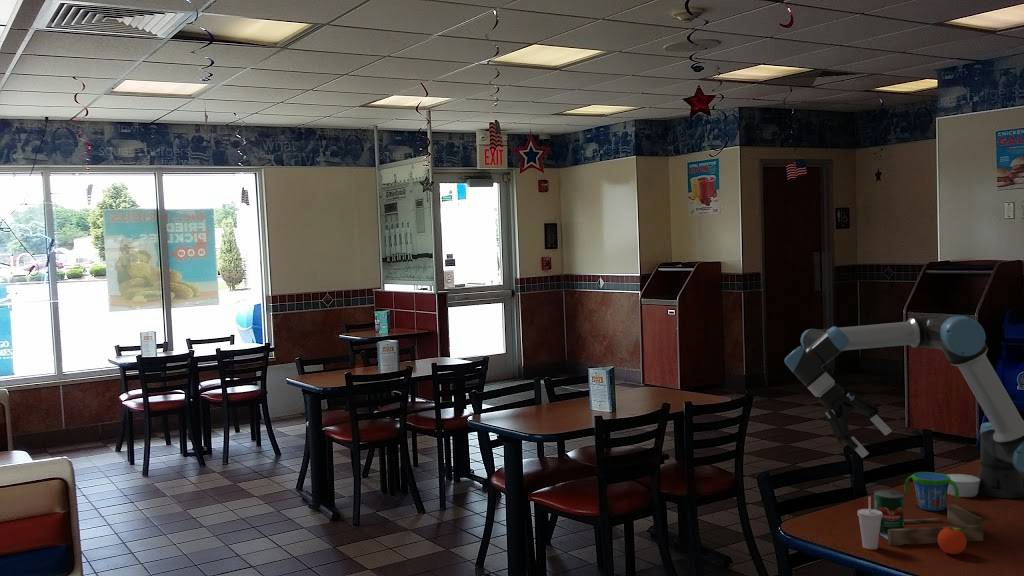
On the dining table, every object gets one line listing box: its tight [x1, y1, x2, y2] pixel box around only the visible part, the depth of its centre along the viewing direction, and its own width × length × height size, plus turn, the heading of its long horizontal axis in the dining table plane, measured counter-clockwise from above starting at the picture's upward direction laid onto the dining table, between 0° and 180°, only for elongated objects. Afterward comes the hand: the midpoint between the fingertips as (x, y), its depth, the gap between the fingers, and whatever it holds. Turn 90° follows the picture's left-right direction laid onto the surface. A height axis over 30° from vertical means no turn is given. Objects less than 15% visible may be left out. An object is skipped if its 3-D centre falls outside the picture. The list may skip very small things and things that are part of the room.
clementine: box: [937, 527, 968, 555], centre depth 237 cm, size 8×7×7 cm
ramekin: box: [946, 473, 980, 498], centre depth 292 cm, size 11×11×5 cm
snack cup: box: [903, 471, 960, 512], centre depth 277 cm, size 16×10×10 cm
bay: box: [858, 503, 984, 546], centre depth 254 cm, size 28×18×5 cm, turn 95°
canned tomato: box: [873, 489, 905, 535], centre depth 255 cm, size 8×8×11 cm
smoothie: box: [857, 496, 883, 550], centre depth 243 cm, size 6×6×14 cm
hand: (877, 444), depth 269 cm, fingers open, 13 cm apart
